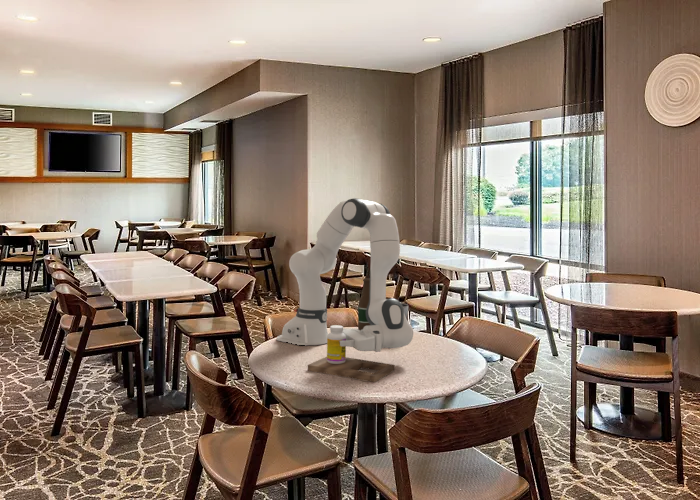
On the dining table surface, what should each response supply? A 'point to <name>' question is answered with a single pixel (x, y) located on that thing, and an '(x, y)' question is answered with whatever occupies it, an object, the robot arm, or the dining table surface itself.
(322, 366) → the caddy board
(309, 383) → the dining table surface
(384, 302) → the robot arm
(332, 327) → the supplement bottle
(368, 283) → the beer bottle
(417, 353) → the dining table surface
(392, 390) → the dining table surface
